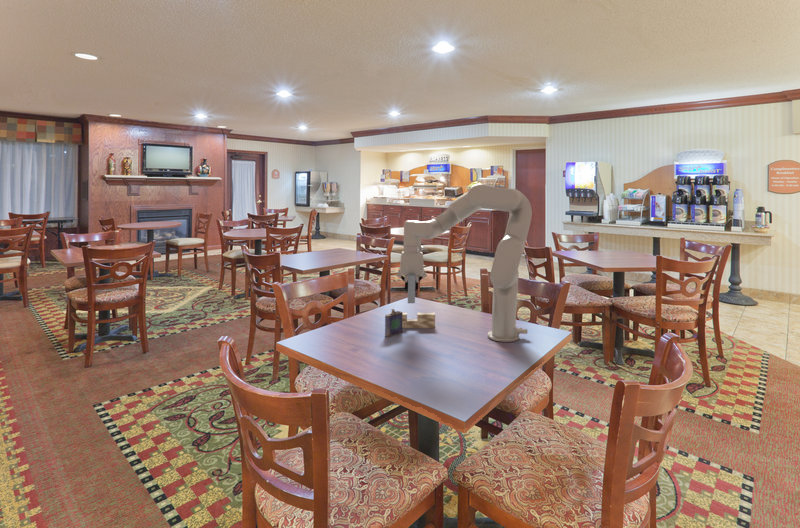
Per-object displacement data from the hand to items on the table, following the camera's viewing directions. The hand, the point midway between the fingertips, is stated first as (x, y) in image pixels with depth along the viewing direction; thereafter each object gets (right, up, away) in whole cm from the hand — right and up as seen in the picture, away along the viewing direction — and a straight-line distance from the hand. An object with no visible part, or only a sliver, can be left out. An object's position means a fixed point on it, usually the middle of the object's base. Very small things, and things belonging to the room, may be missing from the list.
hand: (411, 290), depth 193 cm
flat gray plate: (0, -4, +1) cm, 4 cm away
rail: (0, -16, +3) cm, 16 cm away
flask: (-8, -18, -7) cm, 21 cm away
